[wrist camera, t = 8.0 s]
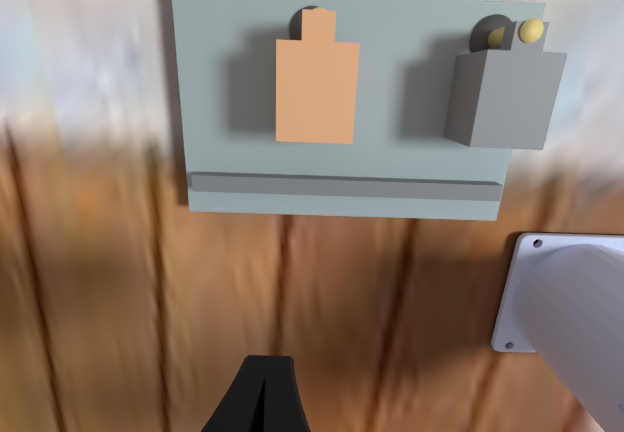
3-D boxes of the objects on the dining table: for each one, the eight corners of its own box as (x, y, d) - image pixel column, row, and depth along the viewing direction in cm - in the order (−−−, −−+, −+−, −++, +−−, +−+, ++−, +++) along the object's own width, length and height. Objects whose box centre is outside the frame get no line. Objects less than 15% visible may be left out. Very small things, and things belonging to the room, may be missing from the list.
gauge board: (529, 9, 17) (598, -16, 13) (485, 212, 20) (529, 244, 16) (179, -7, 16) (138, -37, 12) (196, 203, 20) (168, 233, 16)
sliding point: (352, 22, 15) (362, 8, 12) (344, 134, 17) (352, 144, 14) (281, 19, 15) (276, 4, 12) (280, 131, 17) (275, 141, 14)
